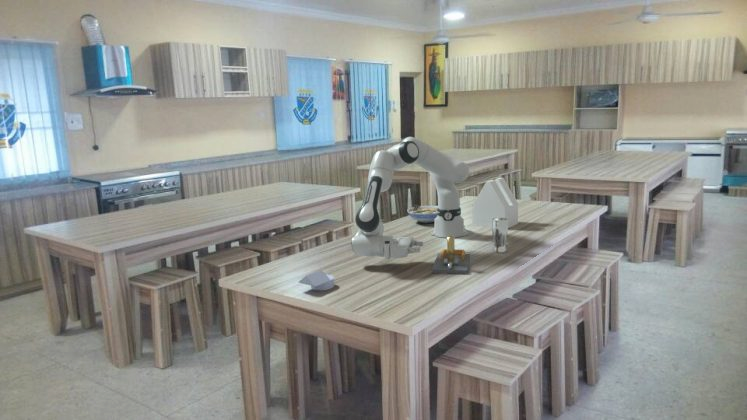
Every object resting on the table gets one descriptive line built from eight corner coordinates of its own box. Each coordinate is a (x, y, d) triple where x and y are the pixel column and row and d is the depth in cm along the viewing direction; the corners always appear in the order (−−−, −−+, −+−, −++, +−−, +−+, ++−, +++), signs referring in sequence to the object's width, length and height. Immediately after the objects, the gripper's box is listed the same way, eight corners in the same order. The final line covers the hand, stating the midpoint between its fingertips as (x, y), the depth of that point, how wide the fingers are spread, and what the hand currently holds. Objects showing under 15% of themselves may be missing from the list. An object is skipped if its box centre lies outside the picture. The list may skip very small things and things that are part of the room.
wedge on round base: (315, 295, 201) (339, 285, 211) (314, 277, 200) (338, 268, 210) (298, 290, 207) (322, 281, 217) (297, 273, 205) (321, 265, 215)
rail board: (437, 256, 243) (437, 249, 243) (469, 257, 240) (469, 249, 239) (432, 273, 220) (431, 264, 220) (467, 274, 217) (467, 265, 217)
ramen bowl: (445, 227, 299) (445, 212, 297) (404, 227, 303) (403, 212, 302) (448, 217, 323) (448, 203, 321) (410, 217, 327) (409, 204, 326)
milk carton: (517, 224, 299) (518, 178, 294) (504, 229, 287) (504, 182, 282) (486, 220, 311) (486, 176, 306) (472, 225, 299) (472, 180, 295)
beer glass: (496, 254, 243) (496, 221, 240) (489, 250, 249) (489, 218, 246) (510, 252, 245) (510, 219, 242) (503, 248, 251) (503, 216, 248)
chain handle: (444, 260, 230) (443, 235, 228) (458, 261, 229) (458, 235, 227) (441, 269, 219) (441, 242, 217) (457, 269, 218) (456, 242, 216)
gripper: (393, 247, 242) (424, 247, 239) (384, 260, 222) (418, 261, 219) (393, 233, 241) (424, 233, 238) (384, 245, 221) (418, 245, 218)
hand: (421, 246), depth 228 cm, fingers open, 8 cm apart
